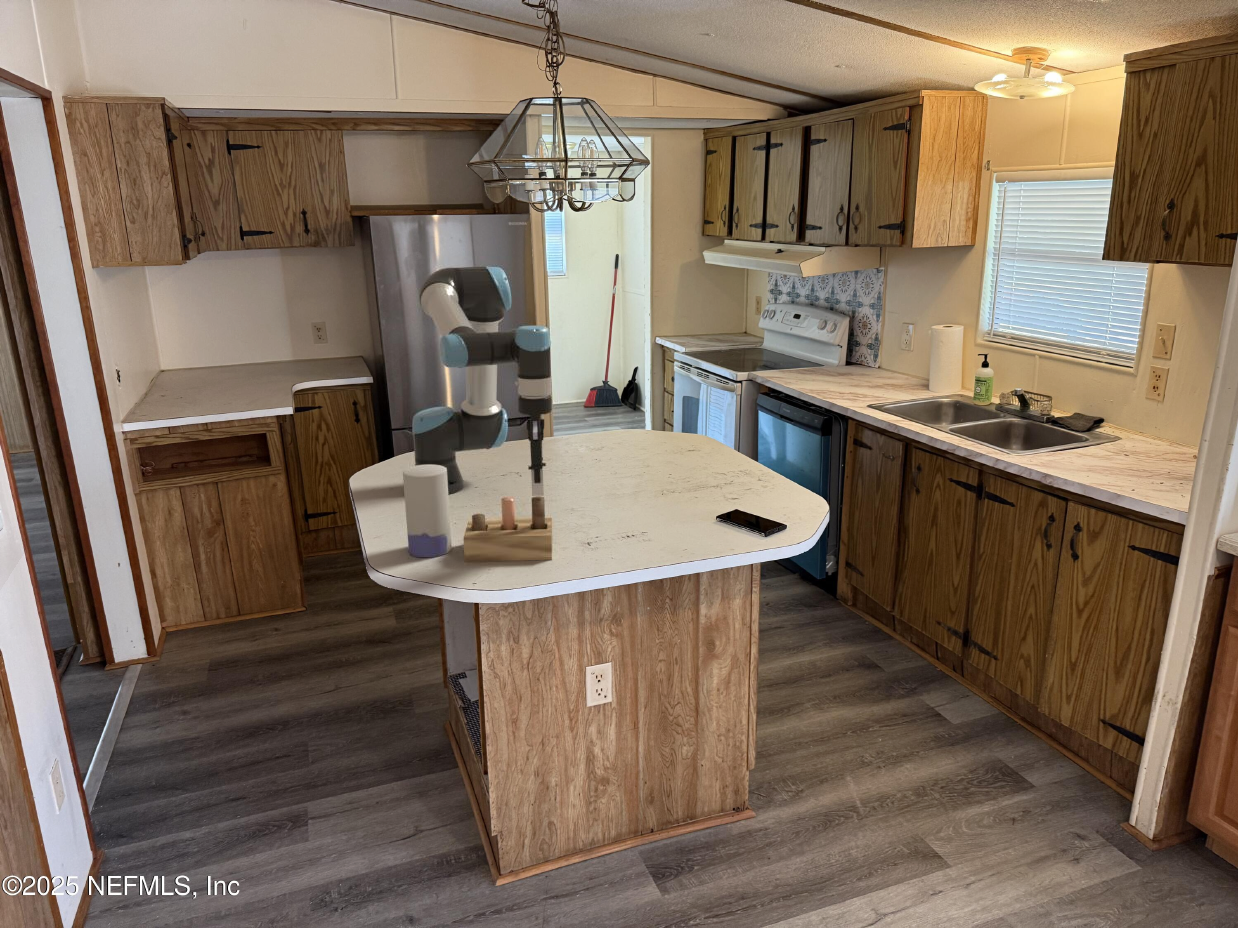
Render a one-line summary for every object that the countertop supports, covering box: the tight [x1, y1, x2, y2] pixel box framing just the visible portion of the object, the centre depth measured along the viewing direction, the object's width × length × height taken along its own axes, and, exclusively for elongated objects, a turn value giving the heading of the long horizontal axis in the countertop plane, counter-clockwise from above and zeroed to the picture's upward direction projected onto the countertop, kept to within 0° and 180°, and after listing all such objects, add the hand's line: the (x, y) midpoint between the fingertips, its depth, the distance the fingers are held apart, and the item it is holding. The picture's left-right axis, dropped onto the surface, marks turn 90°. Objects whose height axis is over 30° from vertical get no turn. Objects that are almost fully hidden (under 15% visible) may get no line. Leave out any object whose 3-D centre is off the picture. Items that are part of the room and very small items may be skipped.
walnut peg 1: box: [471, 513, 486, 531], centre depth 203 cm, size 3×3×8 cm
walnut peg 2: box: [531, 496, 546, 530], centre depth 203 cm, size 3×3×8 cm
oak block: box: [462, 517, 553, 563], centre depth 204 cm, size 12×20×6 cm, turn 94°
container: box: [402, 465, 453, 558], centre depth 203 cm, size 10×10×20 cm
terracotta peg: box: [501, 496, 516, 530], centre depth 202 cm, size 3×3×8 cm
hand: (538, 494), depth 201 cm, fingers closed
